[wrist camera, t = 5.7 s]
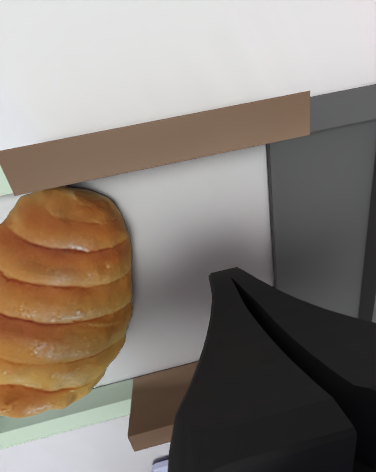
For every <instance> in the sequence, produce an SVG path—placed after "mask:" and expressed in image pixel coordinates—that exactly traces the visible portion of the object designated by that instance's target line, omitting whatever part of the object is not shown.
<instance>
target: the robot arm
mask: <svg viewBox="0 0 376 472" xmlns="http://www.w3.org/2000/svg"><path fill="white" fill-rule="evenodd" d="M209 281H210V286H211V292H212V306H211V316H210V322H209V327H208V332H207V336H206V340H205V343H204V347H203V350H202V353H201V356H200V359H199V362H198V365H197V367H196V370H195V372H194V375H193V378H192V380H191V382H190V385H189V387H188V389H187V391H186V393H185V395H184V397H183V400H182V402H181V404H180V406H179V408H178V410H177V412H176V415H175V420H174V426H173V431H172V437H171V444H170V450H169V459H168V460H165V461H161V462H158V463H155V464H154V465H153V467H152V472H376V323H374V322H370V321H366V320H362V319H358V318H354V317H351V316H347V315H344V314H341V313H337V312H334V311H331V310H328V309H324V308H321V307H319V306H316V305H313V304H311V303H308V302H305V301H303V300H300V299H298V298H295V297H293V296H291V295H289V294H286V293H284V292H282V291H280V290H278V289H276V288H274V287H272V286H270V285H268V284H266V283H264V282H262V281H261V280H259V279H257V278H255V277H253V276H252V275H250V274H248V273H247V272H245V271H243V270H241V269H240V268H238V267H235V268H231V269H227V270H223V271H219V272H214V273H211V274H210V275H209Z"/></svg>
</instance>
